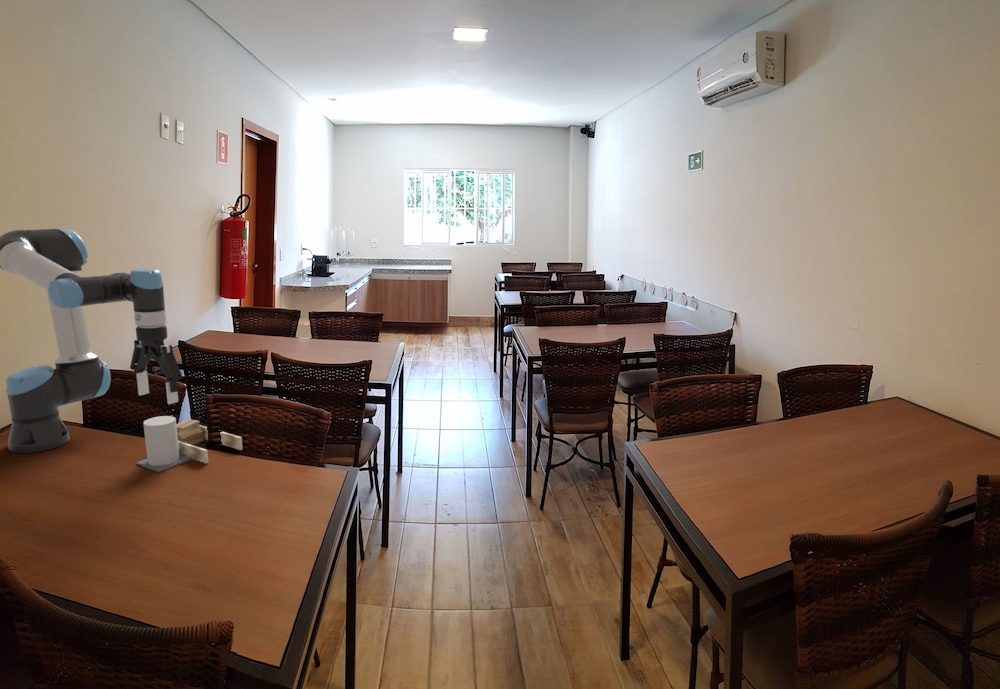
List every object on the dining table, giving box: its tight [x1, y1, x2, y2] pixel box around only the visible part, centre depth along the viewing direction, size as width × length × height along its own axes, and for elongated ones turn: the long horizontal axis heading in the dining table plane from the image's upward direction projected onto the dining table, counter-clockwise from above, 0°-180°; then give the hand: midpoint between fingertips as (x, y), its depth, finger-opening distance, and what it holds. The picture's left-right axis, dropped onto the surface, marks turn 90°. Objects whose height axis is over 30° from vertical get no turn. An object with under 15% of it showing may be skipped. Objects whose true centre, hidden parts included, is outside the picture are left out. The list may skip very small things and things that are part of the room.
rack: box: [178, 424, 243, 464], centre depth 189 cm, size 22×13×4 cm, turn 62°
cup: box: [143, 415, 179, 466], centre depth 178 cm, size 8×8×12 cm
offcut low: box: [178, 430, 205, 445], centre depth 193 cm, size 4×9×4 cm, turn 151°
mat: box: [136, 454, 192, 473], centre depth 179 cm, size 10×10×1 cm
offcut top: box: [176, 419, 200, 439], centre depth 192 cm, size 4×7×4 cm, turn 166°
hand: (158, 398), depth 176 cm, fingers open, 13 cm apart
